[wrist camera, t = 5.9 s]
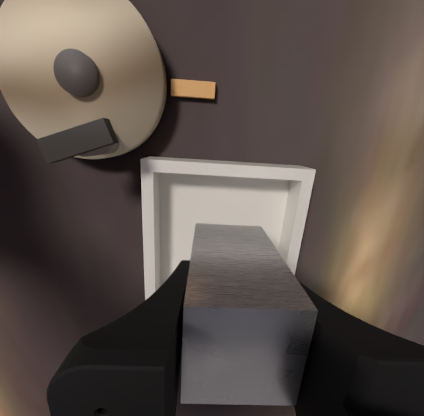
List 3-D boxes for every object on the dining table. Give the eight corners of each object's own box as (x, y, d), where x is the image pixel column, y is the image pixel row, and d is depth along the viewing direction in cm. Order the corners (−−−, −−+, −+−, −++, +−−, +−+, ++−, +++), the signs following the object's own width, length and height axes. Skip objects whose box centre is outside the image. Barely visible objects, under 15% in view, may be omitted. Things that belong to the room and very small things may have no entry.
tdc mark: (171, 96, 15) (170, 95, 15) (171, 80, 15) (171, 78, 14) (214, 99, 15) (214, 98, 15) (215, 83, 15) (215, 81, 15)
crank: (-19, 19, 13) (-152, -53, 8) (132, -37, 13) (85, -151, 8) (60, 174, 16) (-5, 188, 11) (186, 134, 16) (176, 131, 11)
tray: (152, 286, 20) (145, 305, 17) (150, 156, 16) (140, 158, 14) (277, 290, 20) (287, 311, 18) (300, 165, 17) (315, 169, 14)
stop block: (193, 280, 14) (180, 403, 7) (195, 223, 13) (183, 305, 6) (253, 283, 14) (295, 405, 8) (261, 226, 13) (318, 310, 6)
